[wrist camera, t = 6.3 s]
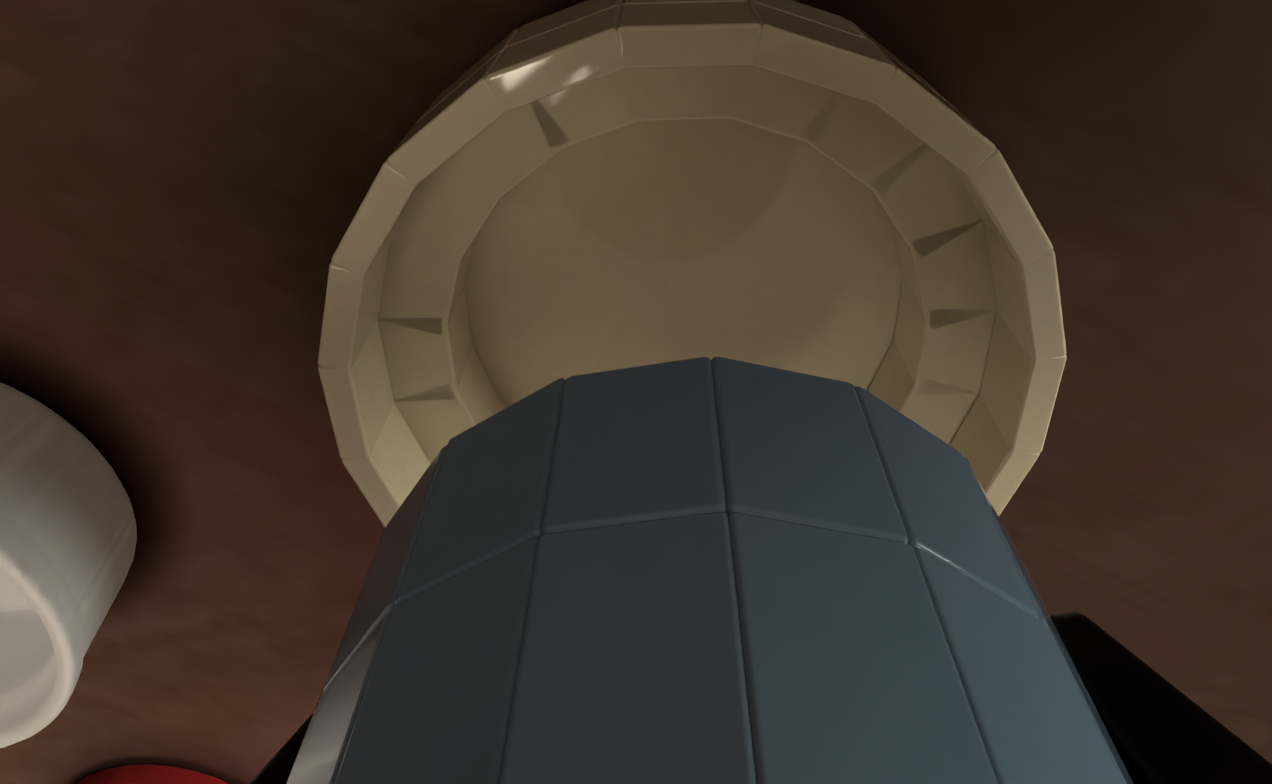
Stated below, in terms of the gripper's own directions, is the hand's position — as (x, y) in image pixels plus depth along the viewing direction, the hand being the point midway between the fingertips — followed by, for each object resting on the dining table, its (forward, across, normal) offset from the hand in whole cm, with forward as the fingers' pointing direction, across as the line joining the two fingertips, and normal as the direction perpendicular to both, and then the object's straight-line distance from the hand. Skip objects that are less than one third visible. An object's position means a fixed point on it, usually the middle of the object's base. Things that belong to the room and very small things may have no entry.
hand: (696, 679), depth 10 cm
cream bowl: (+10, 0, +1) cm, 10 cm away
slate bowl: (+1, 0, 0) cm, 1 cm away
